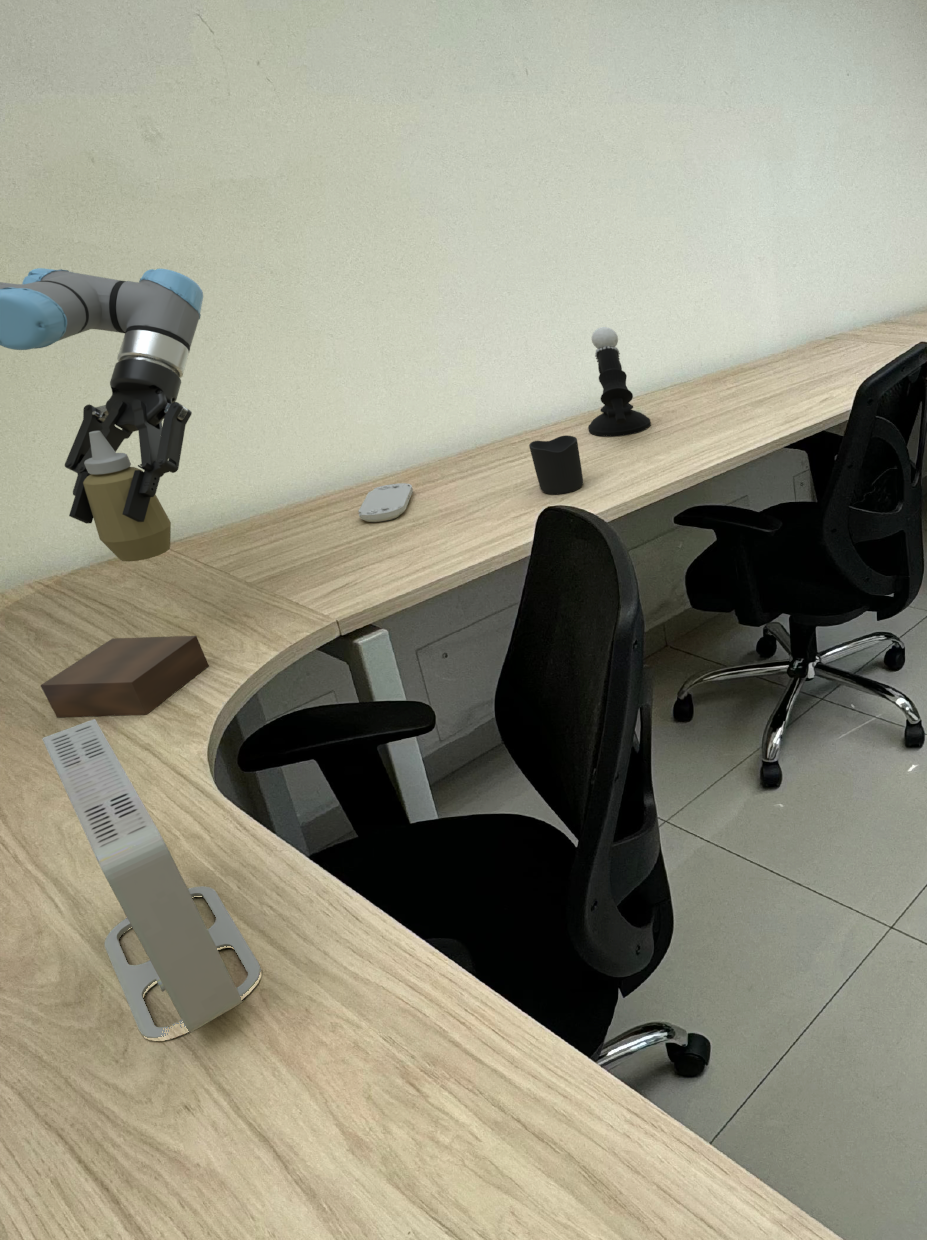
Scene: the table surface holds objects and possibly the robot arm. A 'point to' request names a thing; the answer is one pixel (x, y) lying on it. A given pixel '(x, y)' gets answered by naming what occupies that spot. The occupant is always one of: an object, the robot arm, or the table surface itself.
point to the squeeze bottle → (122, 506)
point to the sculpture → (614, 391)
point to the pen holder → (557, 464)
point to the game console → (385, 502)
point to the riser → (125, 676)
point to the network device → (148, 890)
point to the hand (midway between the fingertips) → (106, 518)
